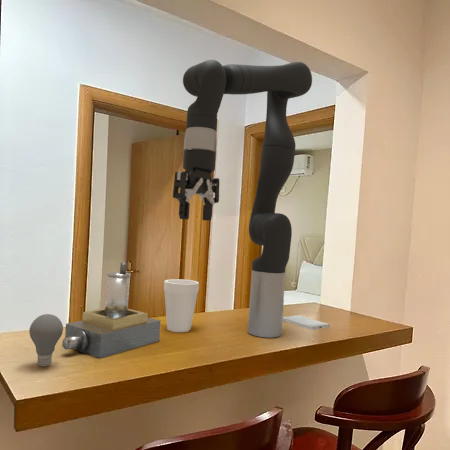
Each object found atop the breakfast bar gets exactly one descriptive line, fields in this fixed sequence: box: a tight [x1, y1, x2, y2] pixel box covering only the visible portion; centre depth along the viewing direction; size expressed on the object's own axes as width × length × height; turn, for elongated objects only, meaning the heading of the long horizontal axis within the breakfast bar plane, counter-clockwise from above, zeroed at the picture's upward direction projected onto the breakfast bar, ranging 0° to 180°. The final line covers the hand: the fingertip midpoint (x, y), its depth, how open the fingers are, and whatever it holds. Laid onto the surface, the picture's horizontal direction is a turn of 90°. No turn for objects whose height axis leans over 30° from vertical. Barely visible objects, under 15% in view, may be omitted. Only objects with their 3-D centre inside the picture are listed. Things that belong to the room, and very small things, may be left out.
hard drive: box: [282, 314, 331, 331], centre depth 130 cm, size 2×8×12 cm
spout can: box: [104, 262, 132, 318], centre depth 97 cm, size 5×5×14 cm
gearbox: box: [61, 307, 161, 359], centre depth 96 cm, size 22×12×7 cm, turn 146°
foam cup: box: [163, 278, 200, 333], centre depth 114 cm, size 10×9×13 cm
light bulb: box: [29, 313, 64, 368], centre depth 81 cm, size 6×6×10 cm
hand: (195, 219), depth 96 cm, fingers open, 8 cm apart
